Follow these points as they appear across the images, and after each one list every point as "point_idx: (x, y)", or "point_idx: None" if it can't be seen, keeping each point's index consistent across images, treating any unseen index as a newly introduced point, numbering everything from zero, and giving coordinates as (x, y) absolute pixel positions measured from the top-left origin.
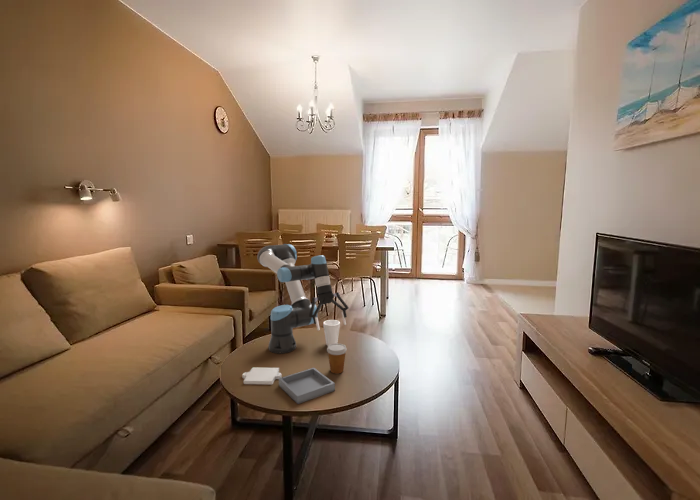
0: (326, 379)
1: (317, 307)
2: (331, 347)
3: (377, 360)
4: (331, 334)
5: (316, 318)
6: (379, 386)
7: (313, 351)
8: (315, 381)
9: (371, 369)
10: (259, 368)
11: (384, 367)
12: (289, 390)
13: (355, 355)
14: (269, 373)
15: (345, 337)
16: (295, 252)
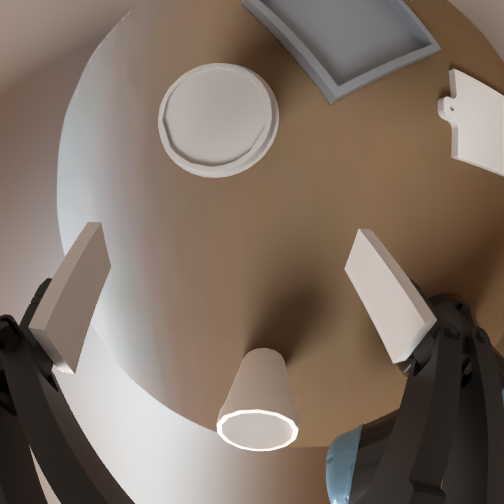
0: (272, 12)
1: (446, 446)
2: (248, 117)
3: None
4: (261, 379)
5: (419, 310)
6: (105, 51)
7: (337, 312)
8: (316, 42)
9: (111, 152)
10: (499, 166)
11: (77, 171)
12: None
13: (167, 269)
14: (473, 122)
15: (217, 402)
16: None
